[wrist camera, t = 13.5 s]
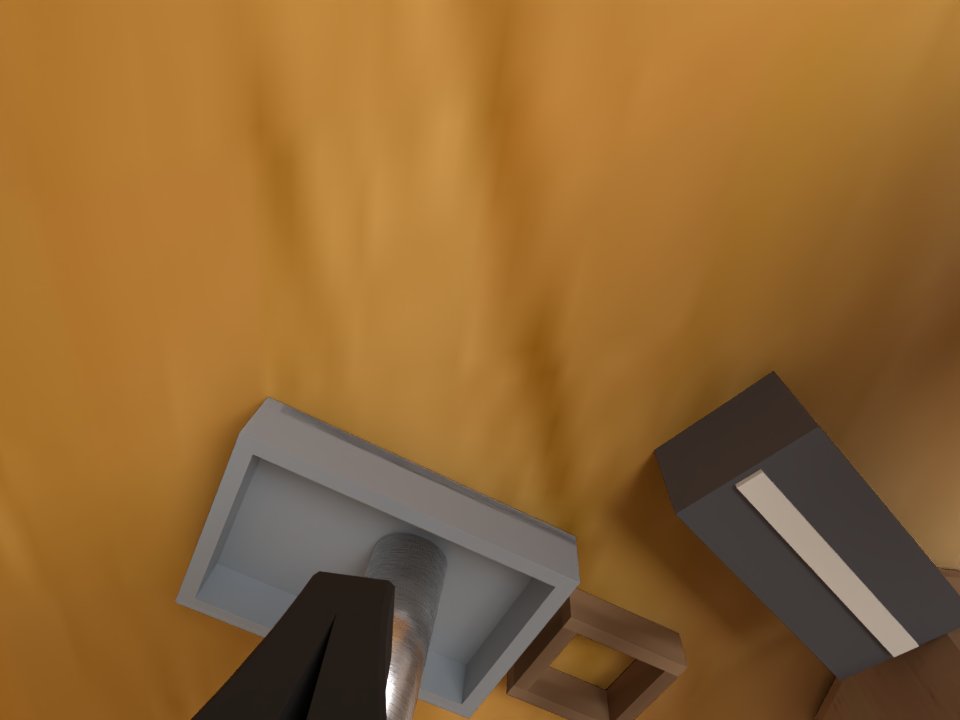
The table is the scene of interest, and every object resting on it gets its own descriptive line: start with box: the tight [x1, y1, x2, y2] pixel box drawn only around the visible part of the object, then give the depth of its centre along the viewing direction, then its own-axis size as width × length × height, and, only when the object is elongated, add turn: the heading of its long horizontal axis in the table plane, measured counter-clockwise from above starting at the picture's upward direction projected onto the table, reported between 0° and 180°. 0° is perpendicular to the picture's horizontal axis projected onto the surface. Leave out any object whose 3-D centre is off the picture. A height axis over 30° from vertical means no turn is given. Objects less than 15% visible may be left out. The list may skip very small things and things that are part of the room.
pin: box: [364, 533, 447, 720], centre depth 19 cm, size 3×3×7 cm
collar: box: [507, 588, 688, 720], centre depth 24 cm, size 5×5×2 cm
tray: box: [175, 397, 580, 719], centre depth 22 cm, size 12×8×2 cm
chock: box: [654, 371, 960, 681], centre depth 19 cm, size 9×4×4 cm, turn 43°
